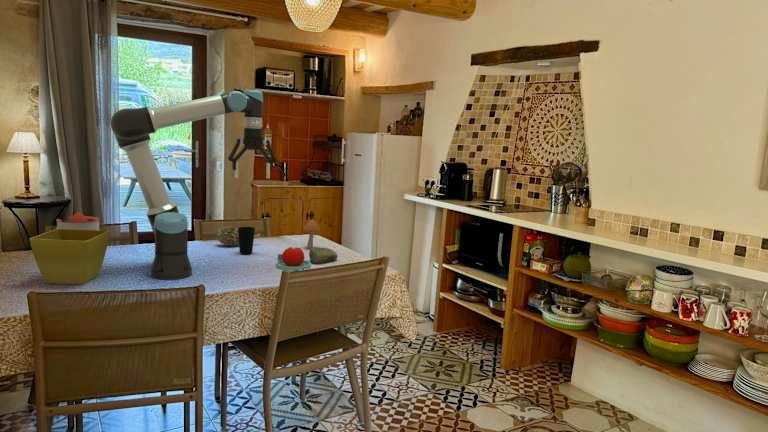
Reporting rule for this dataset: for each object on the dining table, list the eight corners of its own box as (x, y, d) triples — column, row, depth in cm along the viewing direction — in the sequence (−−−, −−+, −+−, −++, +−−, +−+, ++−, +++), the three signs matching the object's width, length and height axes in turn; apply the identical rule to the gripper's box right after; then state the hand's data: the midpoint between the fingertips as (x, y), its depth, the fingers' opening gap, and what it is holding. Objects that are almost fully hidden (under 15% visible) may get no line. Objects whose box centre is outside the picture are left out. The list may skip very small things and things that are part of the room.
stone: (301, 259, 235) (308, 238, 238) (321, 270, 245) (328, 250, 248) (314, 261, 230) (322, 240, 233) (334, 272, 240) (341, 252, 243)
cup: (249, 256, 241) (250, 230, 240) (234, 254, 243) (234, 228, 241) (257, 252, 249) (257, 227, 247) (242, 251, 250) (242, 226, 249)
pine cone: (218, 248, 252) (218, 228, 251) (213, 244, 260) (213, 225, 259) (263, 246, 263) (263, 226, 262) (257, 242, 271) (258, 223, 270)
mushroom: (322, 248, 265) (323, 219, 263) (312, 251, 258) (313, 221, 256) (310, 246, 269) (311, 217, 267) (299, 248, 262) (300, 218, 260)
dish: (282, 271, 217) (282, 268, 217) (272, 263, 230) (272, 260, 230) (315, 269, 224) (315, 265, 224) (303, 261, 237) (303, 258, 237)
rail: (278, 262, 232) (278, 254, 232) (277, 261, 233) (277, 254, 233) (297, 261, 237) (298, 253, 236) (296, 260, 238) (297, 252, 237)
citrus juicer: (74, 253, 229) (72, 207, 226) (109, 257, 226) (108, 210, 223) (44, 260, 214) (42, 212, 211) (81, 265, 211) (80, 215, 208)
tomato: (301, 262, 233) (302, 245, 231) (305, 267, 224) (305, 250, 223) (280, 263, 230) (280, 246, 228) (283, 268, 221) (283, 250, 220)
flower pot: (87, 288, 182) (86, 240, 180) (29, 286, 181) (27, 238, 178) (111, 273, 201) (110, 230, 199) (59, 272, 199) (57, 228, 197)
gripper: (225, 126, 213) (224, 178, 216) (284, 129, 225) (283, 179, 228) (221, 126, 220) (220, 176, 223) (279, 129, 232) (277, 177, 235)
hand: (252, 178), depth 226 cm, fingers open, 13 cm apart
